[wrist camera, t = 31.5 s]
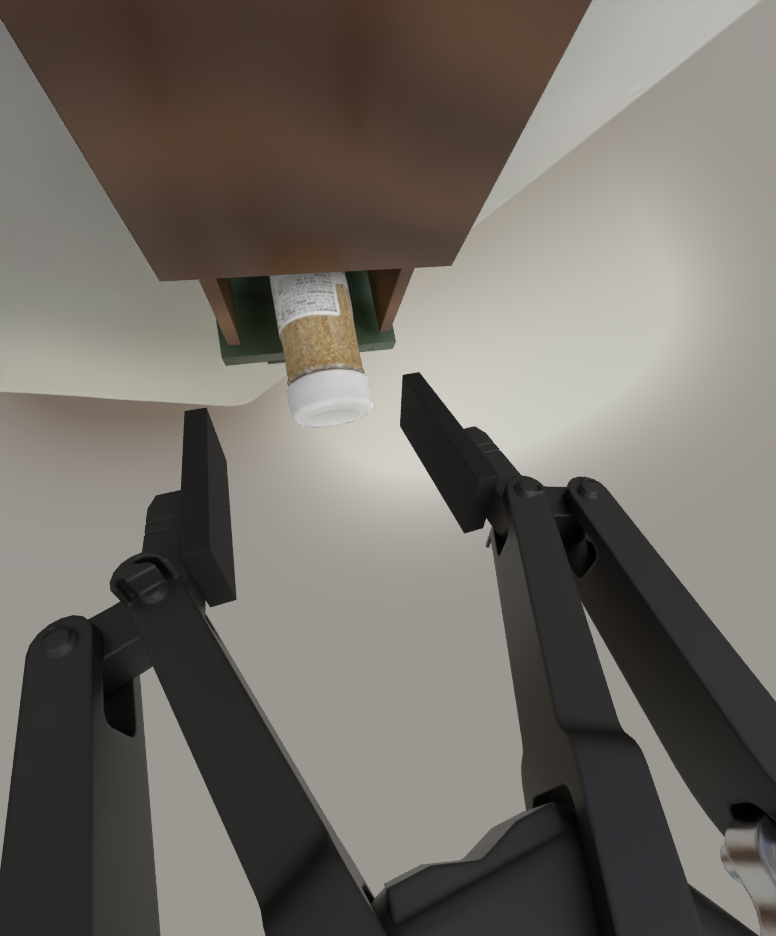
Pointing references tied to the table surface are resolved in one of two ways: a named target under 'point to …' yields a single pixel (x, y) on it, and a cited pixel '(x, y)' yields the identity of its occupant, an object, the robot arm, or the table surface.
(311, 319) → the sprinkles bottle
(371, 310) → the drawer
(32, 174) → the table surface
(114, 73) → the cabinet
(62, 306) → the table surface
